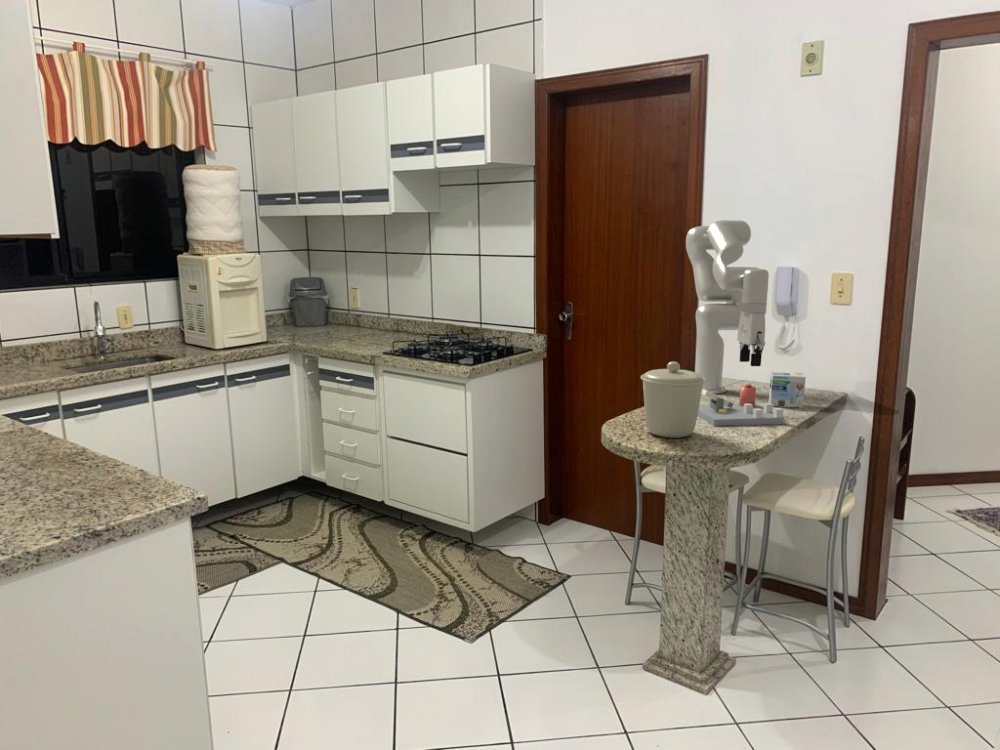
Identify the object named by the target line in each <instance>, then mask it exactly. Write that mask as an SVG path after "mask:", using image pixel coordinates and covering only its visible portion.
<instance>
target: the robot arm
mask: <svg viewBox="0 0 1000 750" xmlns="http://www.w3.org/2000/svg"><path fill="white" fill-rule="evenodd" d="M751 238H752V230H751V226H750V225H749V224H748V223H747V222H746V221H744V220H730V219H729V220H716V221H714V222H712V223H711V224H709V225H701V226H700V225H699V226H695V227H692V228H691V229H689V230H688V231H687V235H686V237H685V248H686V252H687V255H688V258H689V261H690V263H691V265H692V266H691V267H692V270H693V278H694V279H693V280H694V285H695V292H696V296H697V298H698V300H699V301H701V302H707V303H705V304H702V305H700V306H698V307H697V309H696V311H695V324H696V349H695V350H696V355H695V369H694V372H695V373H698V374H700V375H701V376H702V377H704V378H705V379H706V381H705V382H704V383H703V387H702V390H703V389H705V390H707V391H709V392H711V393H713V394H715V395H718V394H723V393H725V392H726V391H727V388H726V387H725V386H723V384H722V383H723V368H724V366H723V365H724V353H725V342H724V339H723V337H722V336H721V334H720V333H719V331H737V330H738V331H737V341H738V342H739V362H740V363H749V362H750V367H761V365H762V355H763V350H764V348H765V345H766V341H765V336H766V314H767V307H768V305H767V304H768V303H767V302H768V292H769V279H770V277H769V276H770V275H769V274H770V272H769V271H768V270H766V269H765V268H764V269H763V268H759V267H755V266H728V265H731V264H734V263H736V262H737V261H738V260H739V259H741V258H742V256H743V254H744V246H746V245H747V244H749V242H750V240H751ZM709 250H710V251H714V252H715V253H716V255H715V257H713V256H712V255H711V254H710V253H709V252H708V251H709ZM708 302H709V303H708ZM717 302H718V303H717ZM750 347H751V348H750ZM751 350H752V351H751ZM751 352H752V353H751Z"/></svg>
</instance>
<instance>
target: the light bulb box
mask: <svg viewBox="0 0 1000 750" xmlns="http://www.w3.org/2000/svg"><path fill="white" fill-rule="evenodd" d="M806 378H807V377H806V376H805V374H804V373H802V372H786V371H785V372H784V371H783V372H782V371H770V379H769V392H768V402H767V403H771V404H773V407H775V406H778V407H777V408H790V407H799V408H798V409H804V408H803V407H804V400H805V387H806V386H805V385H806Z"/></svg>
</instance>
